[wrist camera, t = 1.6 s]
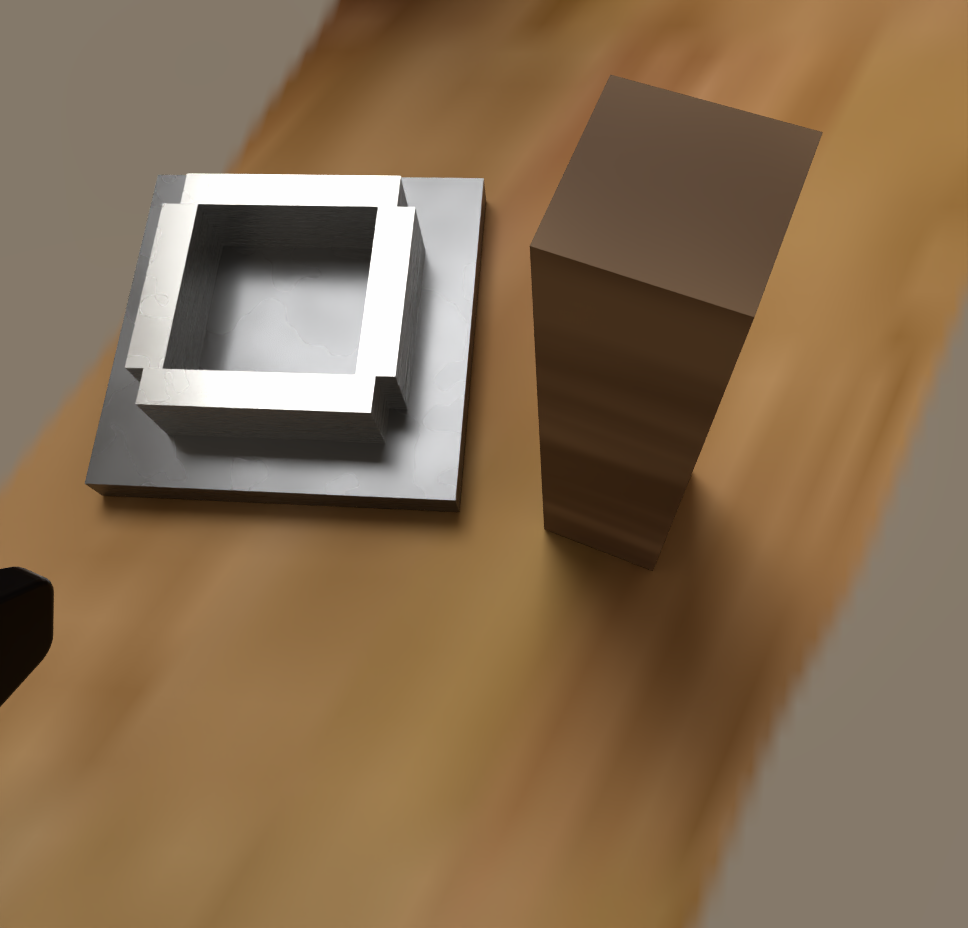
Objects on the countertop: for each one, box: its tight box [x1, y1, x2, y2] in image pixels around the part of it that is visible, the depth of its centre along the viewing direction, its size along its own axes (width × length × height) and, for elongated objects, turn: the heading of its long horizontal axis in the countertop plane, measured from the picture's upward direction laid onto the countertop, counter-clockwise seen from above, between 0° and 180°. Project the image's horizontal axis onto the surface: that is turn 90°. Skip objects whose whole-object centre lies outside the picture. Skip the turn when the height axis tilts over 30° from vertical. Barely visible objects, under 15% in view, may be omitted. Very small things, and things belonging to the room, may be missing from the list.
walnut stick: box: [530, 75, 823, 571], centre depth 18 cm, size 3×3×13 cm
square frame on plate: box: [85, 174, 486, 512], centre depth 25 cm, size 10×10×3 cm
